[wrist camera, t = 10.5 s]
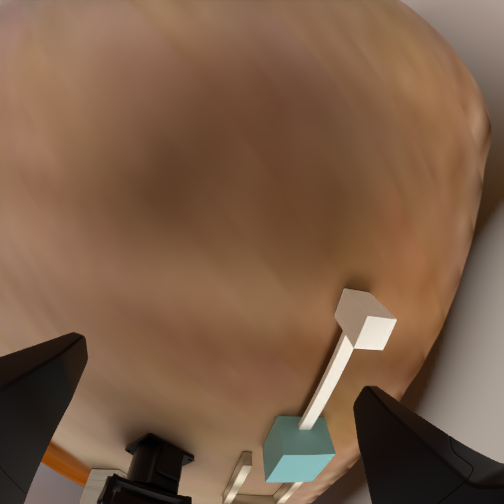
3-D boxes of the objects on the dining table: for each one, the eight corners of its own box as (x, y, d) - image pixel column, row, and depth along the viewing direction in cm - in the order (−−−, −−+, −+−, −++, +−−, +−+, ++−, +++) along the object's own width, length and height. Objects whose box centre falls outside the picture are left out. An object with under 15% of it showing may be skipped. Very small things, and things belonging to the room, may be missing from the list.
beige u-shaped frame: (277, 498, 29) (279, 514, 26) (222, 495, 29) (222, 513, 25) (313, 454, 26) (318, 476, 22) (242, 451, 25) (243, 475, 22)
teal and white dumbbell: (304, 448, 25) (311, 481, 20) (262, 446, 25) (265, 482, 20) (383, 295, 20) (414, 324, 15) (328, 285, 20) (352, 317, 15)
